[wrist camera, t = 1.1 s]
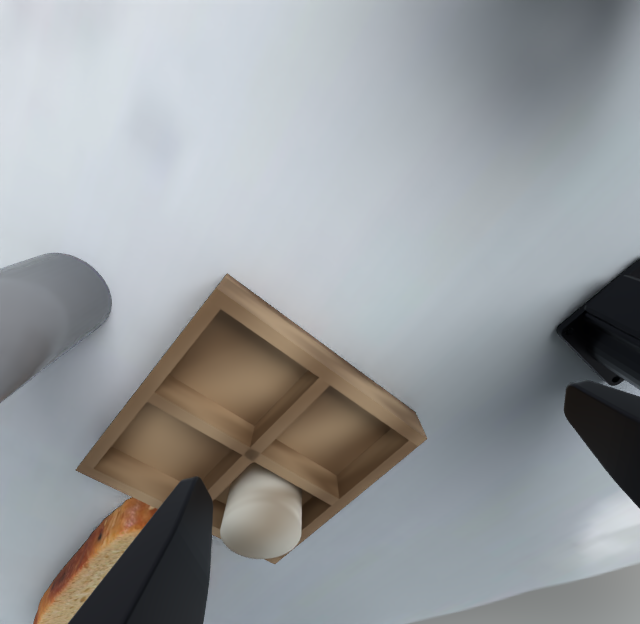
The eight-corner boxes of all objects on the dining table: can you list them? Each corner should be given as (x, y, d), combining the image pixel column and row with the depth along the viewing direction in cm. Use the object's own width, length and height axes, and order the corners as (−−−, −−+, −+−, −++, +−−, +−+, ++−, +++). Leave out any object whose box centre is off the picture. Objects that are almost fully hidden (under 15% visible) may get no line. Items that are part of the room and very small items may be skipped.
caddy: (415, 412, 24) (435, 457, 20) (277, 531, 28) (273, 586, 24) (227, 273, 19) (208, 298, 15) (97, 440, 23) (59, 491, 20)
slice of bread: (178, 482, 26) (158, 530, 22) (252, 611, 33) (245, 663, 29) (-36, 527, 27) (-86, 580, 23) (80, 643, 34) (54, 696, 31)
